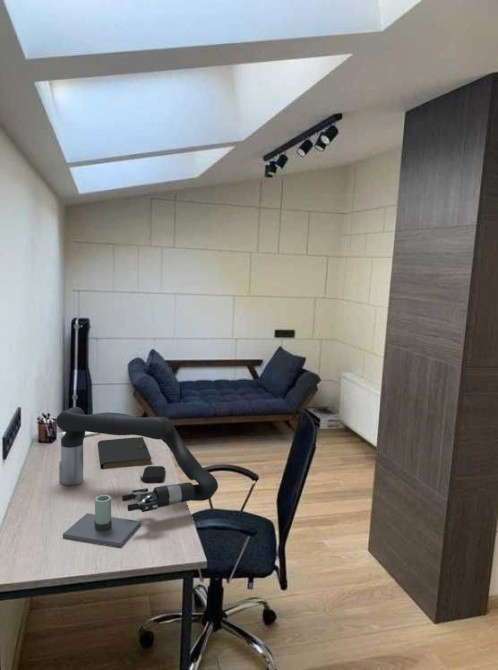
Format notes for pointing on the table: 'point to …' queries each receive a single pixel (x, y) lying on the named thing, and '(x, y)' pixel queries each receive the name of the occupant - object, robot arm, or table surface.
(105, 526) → the sleeve
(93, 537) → the pin board
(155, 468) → the carrying case or bag
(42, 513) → the table surface
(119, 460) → the dark grey book
